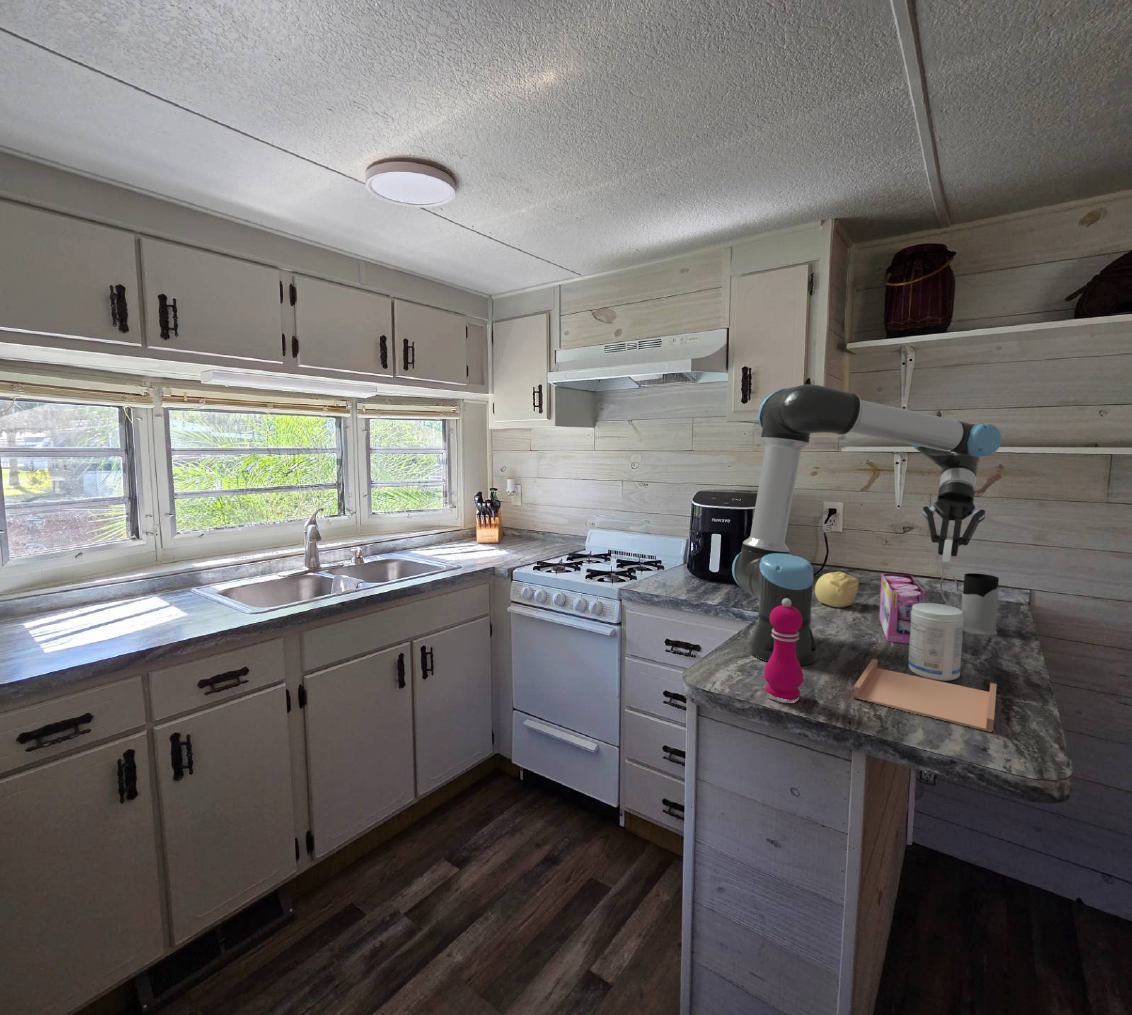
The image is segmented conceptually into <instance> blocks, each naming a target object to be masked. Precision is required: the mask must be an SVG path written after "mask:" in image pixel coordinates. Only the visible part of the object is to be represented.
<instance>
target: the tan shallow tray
mask: <svg viewBox="0 0 1132 1015" xmlns="http://www.w3.org/2000/svg"><path fill="white" fill-rule="evenodd" d="M878 663H879V662H878V659H877V658H876V659H875V658H872V659H871V661H869V664H868V665H867V666H866V668H865V669H864V670H863V672H862V673H861V675H860V676H859V678H858V680H857V681H856V683H855V684H854V686H853V692H852V693H853V694H852V698H853V697H855V698H859V699H862V700H867V701H868V702H874V703H876V704H881V705H884V706H887V707H886V708H888V707H891V708H890V709H892V708H895V709H894V710H896V709H900V710H903V711H902V712H904V711H905V713H908V712H910V713H909V714H912V713H913V714H912V715H916V714H919V715H918V716H920V715H922V716H921V717H924V716H929V717H932V718H934V720H936V719H941V720H944V721H949V722H953V723H956V724H961V725H964V726H970V727H974V728H977V729H983V730H987V731H993V732H994V724H995V712H996V700H997V699H996V698H997V685H998V684H997V683H992V682H989V691H985V690H981V689H977V688H972V687H967V686H963V685H959V684H953V683H948V682H945V681H941V680H934V679H929V678H925V677H922V676H918V675H911V674H908V673H902V672H898V671H894V670H888V669H883V668H880V667H878ZM868 702H867V703H868ZM876 704H875V705H876ZM884 706H883V707H884ZM900 710H899V711H900ZM932 718H931V719H932ZM944 721H943V722H944ZM956 724H955V725H956ZM964 726H963V727H964Z"/></svg>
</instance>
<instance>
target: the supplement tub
mask: <svg viewBox="0 0 1132 1015" xmlns="http://www.w3.org/2000/svg"><path fill="white" fill-rule="evenodd" d="M963 633H964V631H963V611H962V610H961V608H958V607H955V606H953V605H951V606H949V605H948V604H947V605H946V604H941V603H935V602H934V603H933V602H932V603H931V602H924V603H918V604H914V605H913V606H912V611H911V627H910V644H909V648H908V668H909V670H910V671H911V672H913V673H914V674H915V675H916V676H918V677H922V678H926V679H931V680H936V681H940V682H945V681H947V682H949V681H953V680H957V679H958V678H960V676H961V665H962V651H963V650H962V648H963V636H964V635H963Z"/></svg>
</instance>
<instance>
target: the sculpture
mask: <svg viewBox="0 0 1132 1015" xmlns="http://www.w3.org/2000/svg"><path fill="white" fill-rule="evenodd" d="M859 584H860V582H859V580H858V579H857V578H855V577H854V576H852V575H850V574H847V573H846V572H842V571H836V572H834V571H833V572H827V573H825V574H822V575H821V576H820V577H819V578H818V580H817V581H816V583H815V587H814V593H815V597H816V599H817V600H818V602H820V603H822V604H825V605H826V606H830V607H832V608H834V607H835V608H847V607H849V606H851V605H852V604H853V603H854V601H855V597H856V595H857V593H858V591H859Z"/></svg>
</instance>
